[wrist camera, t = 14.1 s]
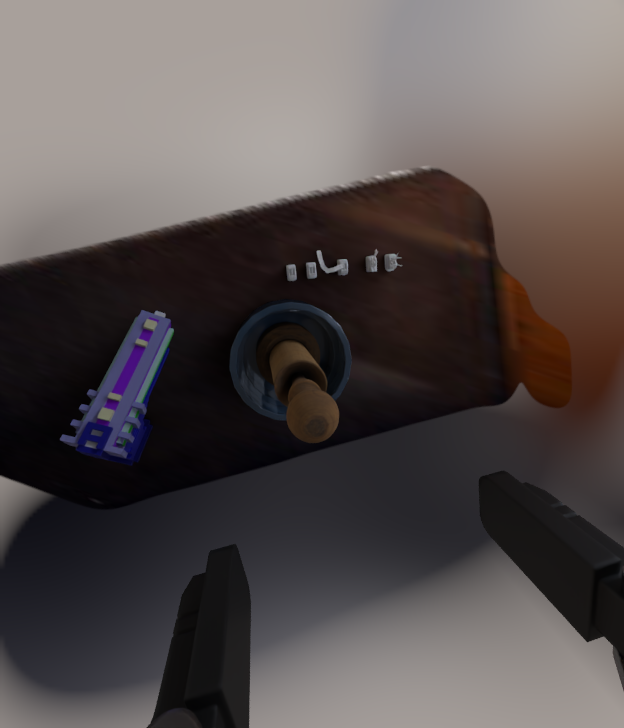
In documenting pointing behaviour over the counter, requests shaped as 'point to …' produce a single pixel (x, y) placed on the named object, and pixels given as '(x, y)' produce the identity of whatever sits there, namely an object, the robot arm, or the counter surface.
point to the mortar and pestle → (298, 380)
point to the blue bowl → (245, 343)
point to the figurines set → (342, 266)
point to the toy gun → (124, 395)
